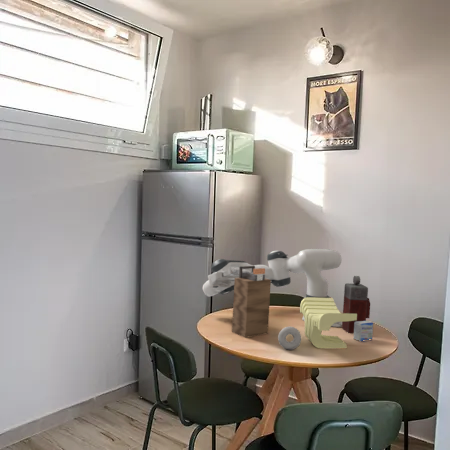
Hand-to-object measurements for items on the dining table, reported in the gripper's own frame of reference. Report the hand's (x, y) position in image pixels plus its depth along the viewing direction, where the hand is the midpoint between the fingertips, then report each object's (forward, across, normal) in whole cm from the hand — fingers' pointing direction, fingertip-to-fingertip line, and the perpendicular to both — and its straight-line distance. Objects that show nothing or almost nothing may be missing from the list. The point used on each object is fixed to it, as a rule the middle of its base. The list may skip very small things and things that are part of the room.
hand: (237, 270), depth 222 cm
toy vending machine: (+15, -51, -42) cm, 68 cm away
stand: (-4, 0, -30) cm, 30 cm away
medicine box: (+25, -41, -47) cm, 68 cm away
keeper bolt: (+5, 0, -5) cm, 7 cm away
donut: (+19, +1, -44) cm, 48 cm away
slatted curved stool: (+21, -20, -45) cm, 53 cm away
